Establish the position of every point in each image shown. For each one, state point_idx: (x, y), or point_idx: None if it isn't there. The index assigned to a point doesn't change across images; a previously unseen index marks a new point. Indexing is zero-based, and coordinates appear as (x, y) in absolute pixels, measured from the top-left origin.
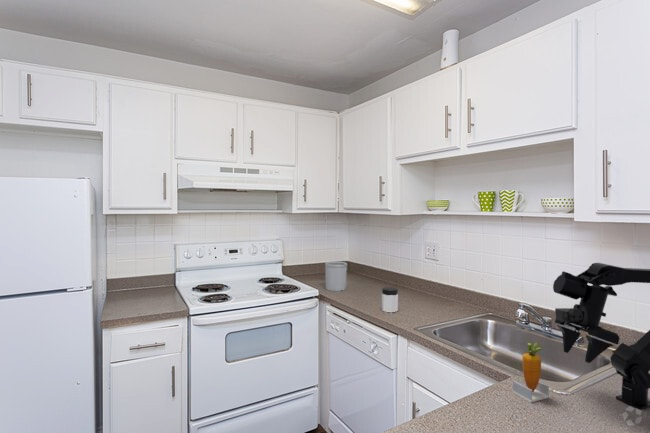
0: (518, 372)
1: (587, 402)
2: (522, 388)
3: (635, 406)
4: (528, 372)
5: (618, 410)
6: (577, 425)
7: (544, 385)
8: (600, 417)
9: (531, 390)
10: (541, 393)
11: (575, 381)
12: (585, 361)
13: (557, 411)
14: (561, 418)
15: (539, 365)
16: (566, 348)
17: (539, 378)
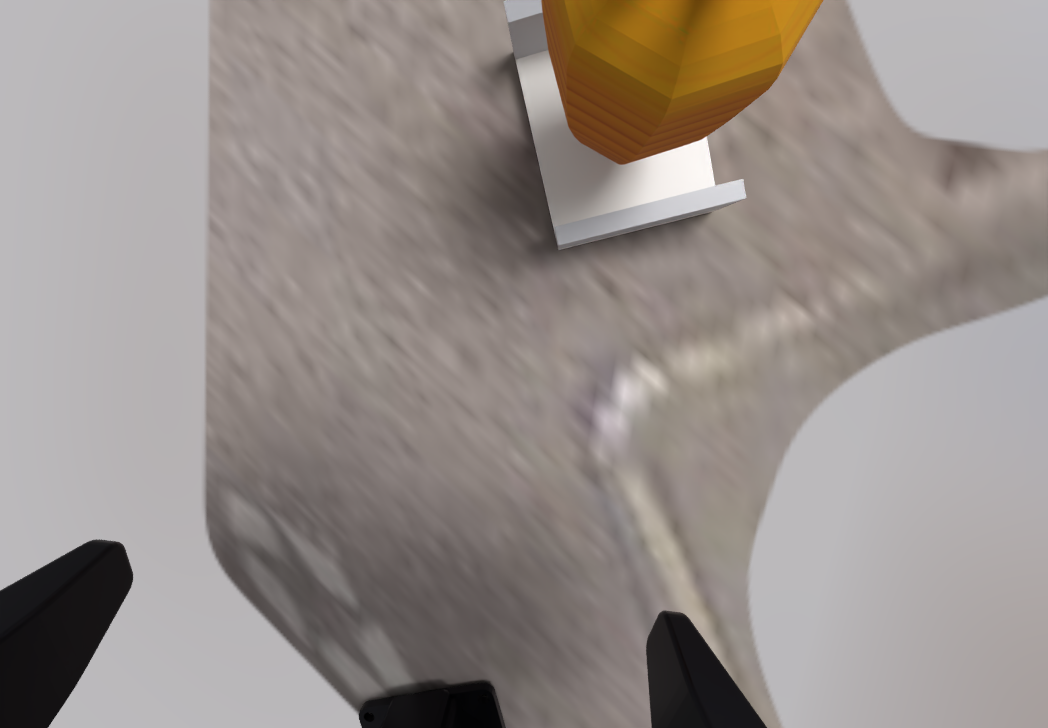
0: (988, 312)
1: (471, 473)
2: None
3: (383, 700)
4: None
5: (368, 576)
6: (228, 179)
7: (582, 220)
8: (304, 403)
9: (506, 12)
10: (589, 210)
11: (741, 634)
12: (119, 542)
13: (386, 174)
14: (305, 134)
15: (555, 49)
16: (673, 685)
17: (572, 133)
